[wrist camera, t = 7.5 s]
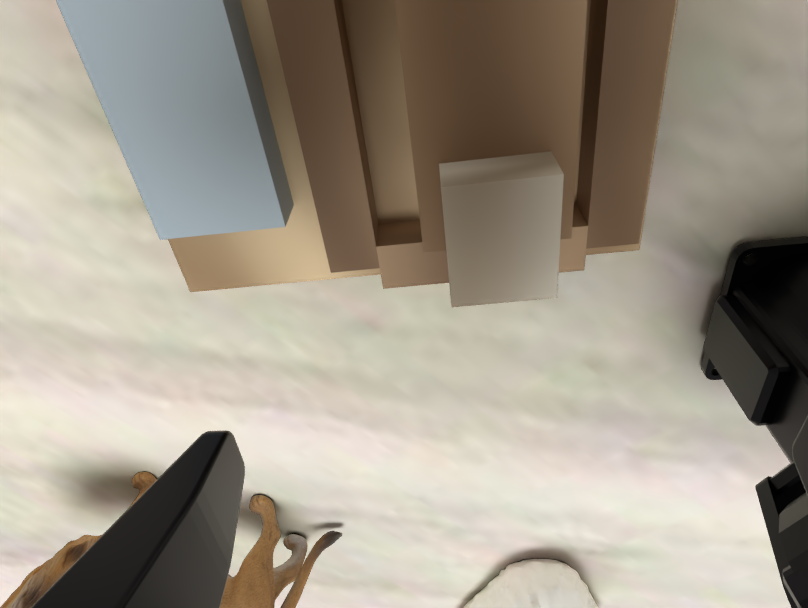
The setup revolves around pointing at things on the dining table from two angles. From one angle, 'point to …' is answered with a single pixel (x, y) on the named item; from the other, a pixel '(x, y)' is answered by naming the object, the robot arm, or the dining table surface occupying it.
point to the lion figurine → (246, 592)
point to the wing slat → (185, 111)
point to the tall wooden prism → (494, 137)
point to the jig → (392, 153)
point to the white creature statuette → (535, 587)
